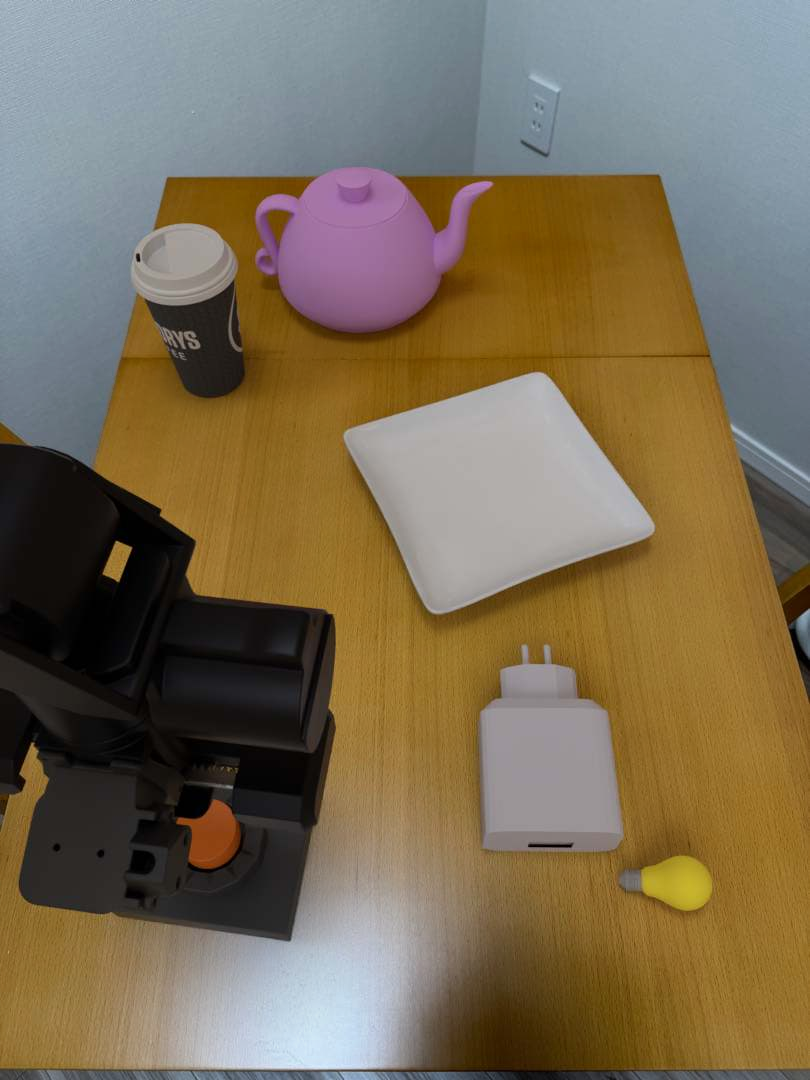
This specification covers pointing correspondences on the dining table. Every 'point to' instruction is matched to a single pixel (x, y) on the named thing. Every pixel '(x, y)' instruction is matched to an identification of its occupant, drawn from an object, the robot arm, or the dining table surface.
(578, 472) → the plate
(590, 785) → the charger
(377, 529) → the dining table surface
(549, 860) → the dining table surface
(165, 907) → the switch base
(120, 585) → the robot arm
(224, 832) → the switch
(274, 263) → the teapot
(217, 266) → the coffee cup
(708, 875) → the light bulb
